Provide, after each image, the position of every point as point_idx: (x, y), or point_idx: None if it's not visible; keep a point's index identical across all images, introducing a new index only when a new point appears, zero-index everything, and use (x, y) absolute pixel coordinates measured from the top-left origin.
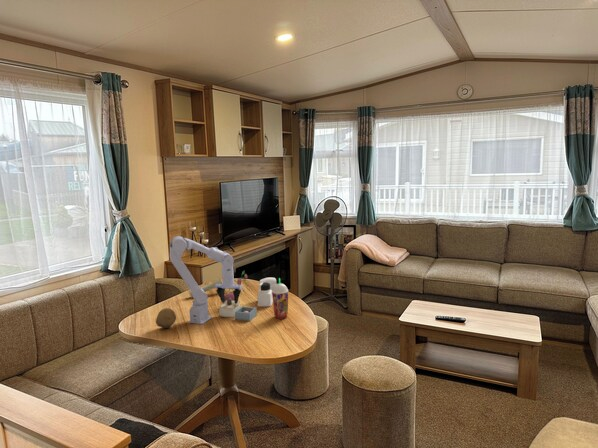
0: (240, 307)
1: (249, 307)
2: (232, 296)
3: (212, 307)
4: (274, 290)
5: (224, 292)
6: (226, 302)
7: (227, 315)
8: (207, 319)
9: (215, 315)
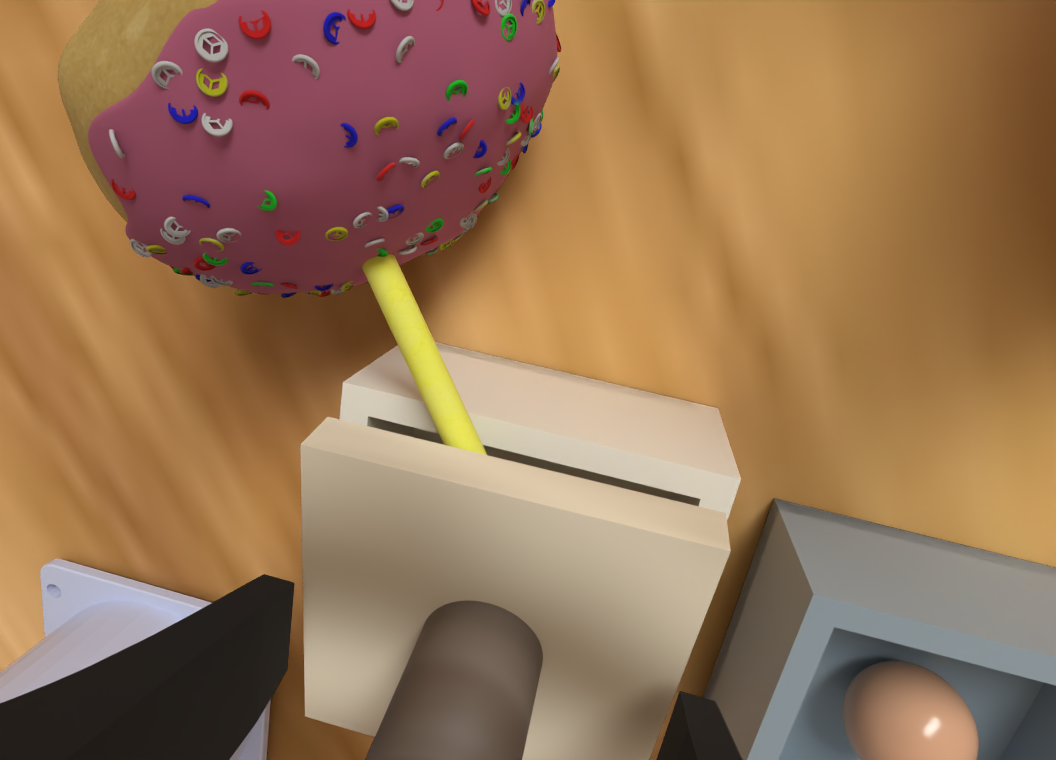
0: (729, 458)
1: (1036, 675)
2: (365, 142)
3: (40, 138)
4: None
5: (76, 752)
6: (360, 565)
7: None
8: (256, 734)
9: (288, 540)
